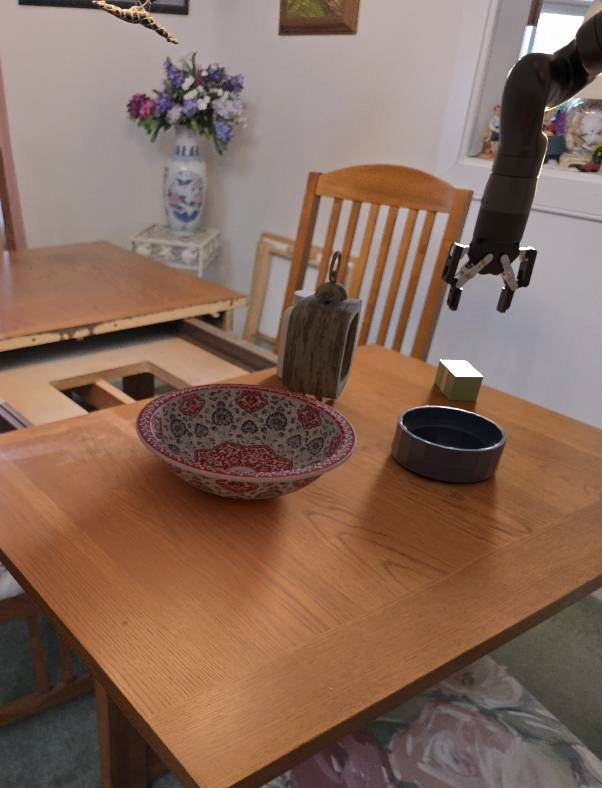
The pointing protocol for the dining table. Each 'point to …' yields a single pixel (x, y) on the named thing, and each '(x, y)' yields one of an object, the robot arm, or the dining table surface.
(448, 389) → the block
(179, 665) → the dining table surface
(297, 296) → the pill bottle
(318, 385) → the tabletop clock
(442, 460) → the bowl
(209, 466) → the ceramic bowl
